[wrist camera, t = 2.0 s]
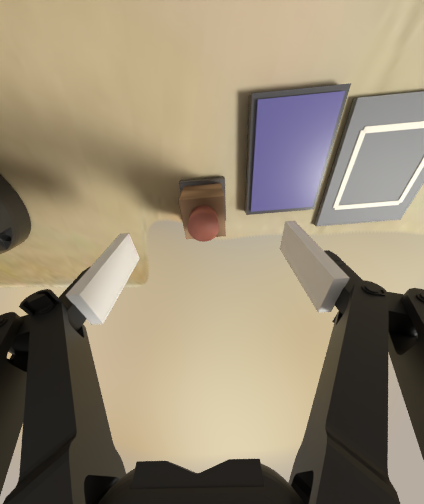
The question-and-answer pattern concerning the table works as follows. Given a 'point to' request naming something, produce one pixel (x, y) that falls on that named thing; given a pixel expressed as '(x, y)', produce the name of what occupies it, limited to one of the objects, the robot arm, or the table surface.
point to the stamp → (203, 208)
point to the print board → (376, 161)
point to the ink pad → (290, 146)
